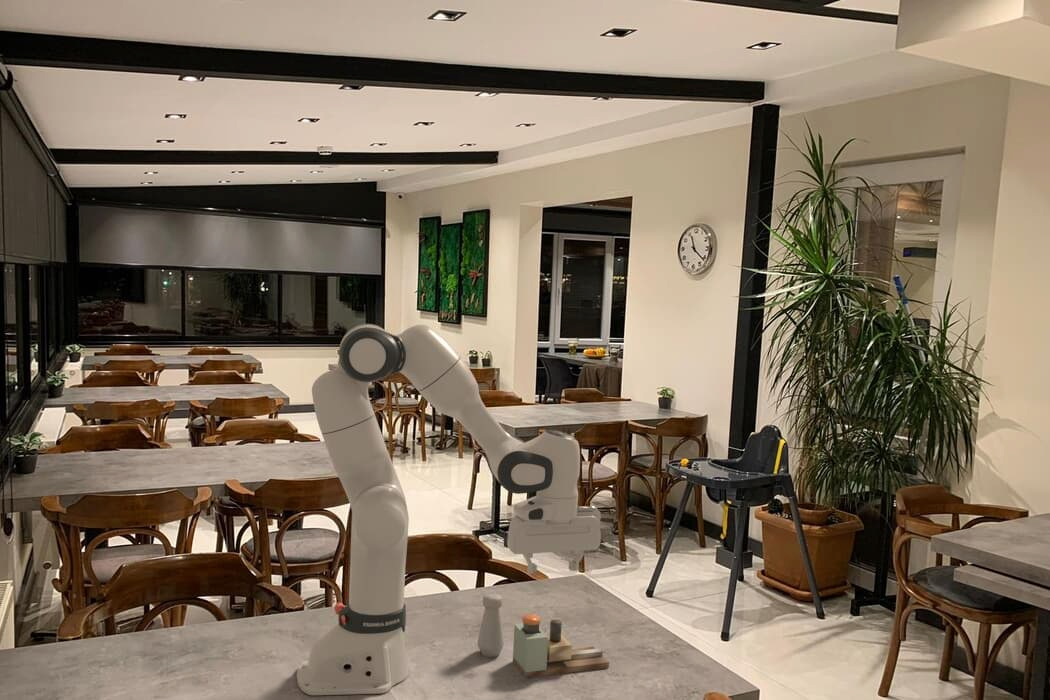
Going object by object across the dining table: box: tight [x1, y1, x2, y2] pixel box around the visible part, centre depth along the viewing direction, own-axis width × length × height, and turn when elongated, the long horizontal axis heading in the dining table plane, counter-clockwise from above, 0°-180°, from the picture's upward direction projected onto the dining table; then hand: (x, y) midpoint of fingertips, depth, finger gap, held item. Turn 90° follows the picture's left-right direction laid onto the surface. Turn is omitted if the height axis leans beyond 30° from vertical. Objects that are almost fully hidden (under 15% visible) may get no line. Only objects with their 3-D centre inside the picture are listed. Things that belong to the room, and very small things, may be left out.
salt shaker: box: [477, 593, 505, 658], centre depth 179 cm, size 6×6×13 cm
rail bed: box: [512, 646, 610, 679], centre depth 176 cm, size 19×8×2 cm, turn 110°
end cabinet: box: [512, 622, 548, 672], centre depth 173 cm, size 5×8×7 cm, turn 20°
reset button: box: [522, 613, 541, 634], centre depth 173 cm, size 4×4×5 cm
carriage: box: [546, 619, 573, 662], centre depth 175 cm, size 5×6×7 cm
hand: (552, 571), depth 174 cm, fingers open, 8 cm apart
